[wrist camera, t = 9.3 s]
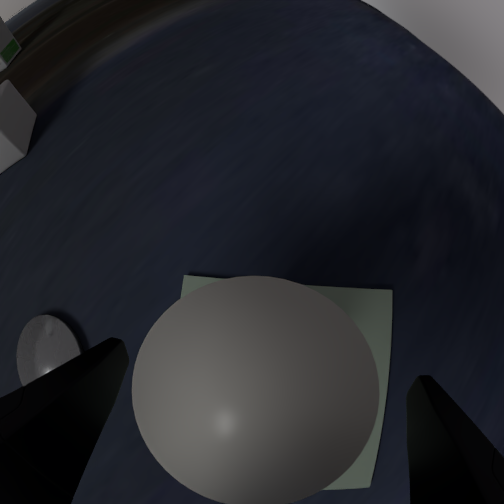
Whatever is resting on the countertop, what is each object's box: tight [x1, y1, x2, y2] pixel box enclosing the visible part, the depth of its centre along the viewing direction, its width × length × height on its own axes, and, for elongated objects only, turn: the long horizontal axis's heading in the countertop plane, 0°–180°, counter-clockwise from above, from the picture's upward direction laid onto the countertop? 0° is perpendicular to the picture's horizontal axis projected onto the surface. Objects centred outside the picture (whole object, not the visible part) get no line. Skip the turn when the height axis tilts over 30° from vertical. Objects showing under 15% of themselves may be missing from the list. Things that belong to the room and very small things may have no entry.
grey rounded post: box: [132, 276, 380, 504], centre depth 10 cm, size 6×4×11 cm
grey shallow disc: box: [17, 315, 84, 386], centre depth 16 cm, size 7×7×1 cm
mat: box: [181, 275, 392, 490], centre depth 15 cm, size 12×12×1 cm
